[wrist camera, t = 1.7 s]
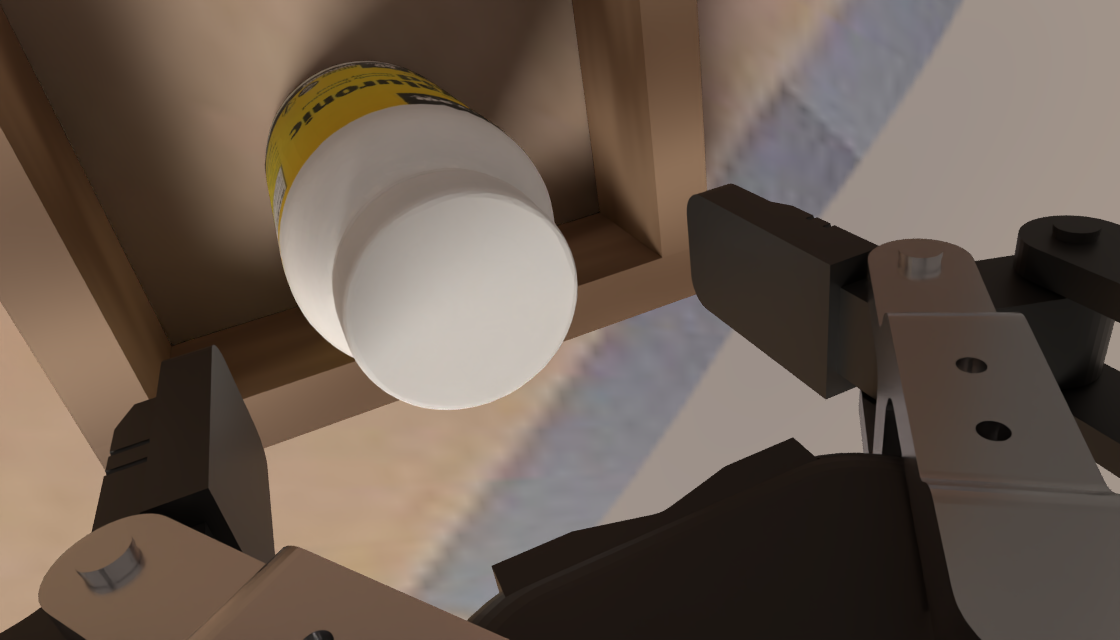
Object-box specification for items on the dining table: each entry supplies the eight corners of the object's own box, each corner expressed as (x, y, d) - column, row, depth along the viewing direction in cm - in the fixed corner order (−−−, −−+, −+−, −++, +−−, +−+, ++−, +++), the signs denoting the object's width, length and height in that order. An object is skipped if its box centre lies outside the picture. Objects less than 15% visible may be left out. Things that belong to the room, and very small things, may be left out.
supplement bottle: (462, 52, 20) (630, 134, 12) (468, 242, 22) (610, 417, 14) (244, 58, 18) (271, 161, 10) (277, 265, 20) (319, 481, 12)
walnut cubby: (-134, -76, 14) (-236, -78, 11) (603, -189, 19) (686, -215, 15) (137, 408, 21) (122, 498, 17) (645, 241, 25) (711, 288, 22)
